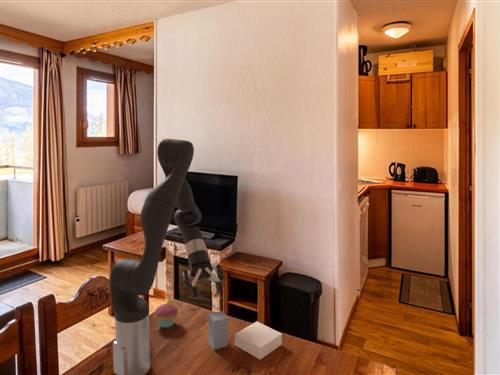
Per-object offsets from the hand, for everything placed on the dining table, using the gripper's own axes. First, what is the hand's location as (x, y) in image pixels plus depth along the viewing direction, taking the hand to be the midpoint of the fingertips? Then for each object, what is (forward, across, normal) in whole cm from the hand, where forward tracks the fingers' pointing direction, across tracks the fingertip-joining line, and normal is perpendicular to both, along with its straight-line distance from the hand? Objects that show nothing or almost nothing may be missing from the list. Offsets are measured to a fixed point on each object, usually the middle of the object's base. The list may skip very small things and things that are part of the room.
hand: (208, 295), depth 122 cm
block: (+15, 0, +3) cm, 16 cm away
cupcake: (+2, -12, +16) cm, 21 cm away
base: (+20, +12, -2) cm, 23 cm away
